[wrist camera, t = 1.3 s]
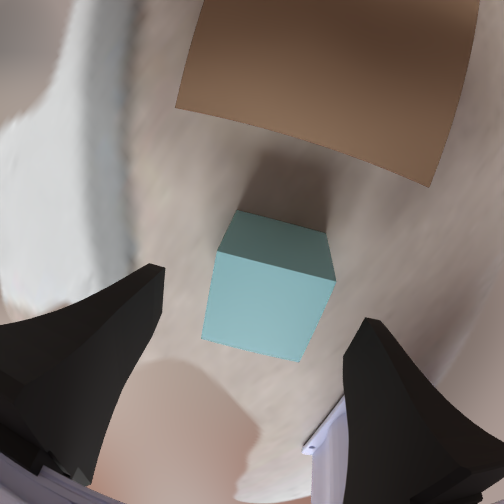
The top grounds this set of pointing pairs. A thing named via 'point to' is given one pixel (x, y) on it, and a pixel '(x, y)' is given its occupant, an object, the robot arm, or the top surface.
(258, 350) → the teal cube
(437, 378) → the top surface
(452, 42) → the walnut block
